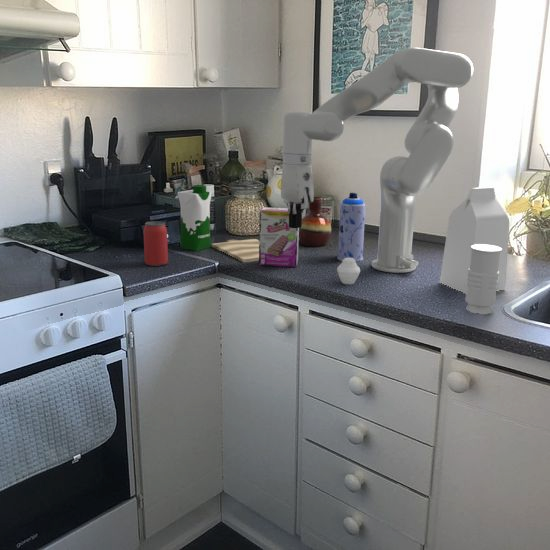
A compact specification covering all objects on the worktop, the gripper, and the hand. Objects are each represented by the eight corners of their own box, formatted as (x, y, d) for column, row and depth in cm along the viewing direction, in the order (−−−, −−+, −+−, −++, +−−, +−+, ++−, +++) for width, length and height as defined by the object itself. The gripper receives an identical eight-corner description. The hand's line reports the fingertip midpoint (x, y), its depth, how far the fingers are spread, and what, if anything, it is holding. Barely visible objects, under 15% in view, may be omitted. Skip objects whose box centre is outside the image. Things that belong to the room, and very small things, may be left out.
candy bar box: (258, 266, 179) (259, 209, 174) (260, 261, 184) (261, 206, 179) (297, 267, 178) (298, 211, 173) (298, 263, 183) (299, 208, 178)
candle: (465, 313, 142) (472, 250, 138) (462, 304, 149) (468, 243, 145) (496, 316, 141) (504, 252, 137) (492, 306, 148) (499, 245, 144)
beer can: (172, 263, 179) (171, 223, 176) (153, 268, 175) (152, 226, 171) (158, 259, 184) (157, 219, 180) (140, 263, 179) (138, 222, 176)
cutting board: (290, 256, 190) (290, 253, 190) (243, 262, 182) (243, 259, 182) (251, 240, 210) (251, 237, 210) (208, 245, 202) (208, 242, 202)
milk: (468, 295, 156) (479, 192, 148) (439, 282, 166) (448, 185, 158) (505, 290, 160) (518, 190, 153) (475, 278, 170) (485, 183, 163)
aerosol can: (335, 255, 192) (337, 191, 187) (359, 255, 193) (363, 191, 187) (339, 262, 185) (342, 195, 179) (365, 261, 185) (369, 195, 180)
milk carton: (196, 252, 193) (195, 188, 187) (175, 247, 198) (173, 185, 192) (215, 247, 200) (214, 185, 194) (194, 243, 205) (193, 182, 199)
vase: (295, 240, 211) (296, 195, 207) (327, 240, 212) (329, 195, 208) (299, 248, 201) (301, 200, 196) (333, 247, 202) (335, 200, 198)
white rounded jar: (347, 287, 160) (348, 261, 158) (331, 281, 165) (332, 256, 163) (364, 283, 164) (366, 258, 162) (348, 278, 168) (350, 253, 167)
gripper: (324, 162, 161) (322, 231, 166) (293, 156, 173) (292, 221, 178) (300, 163, 157) (298, 234, 162) (270, 157, 169) (269, 223, 174)
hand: (295, 227), depth 170 cm, fingers closed
